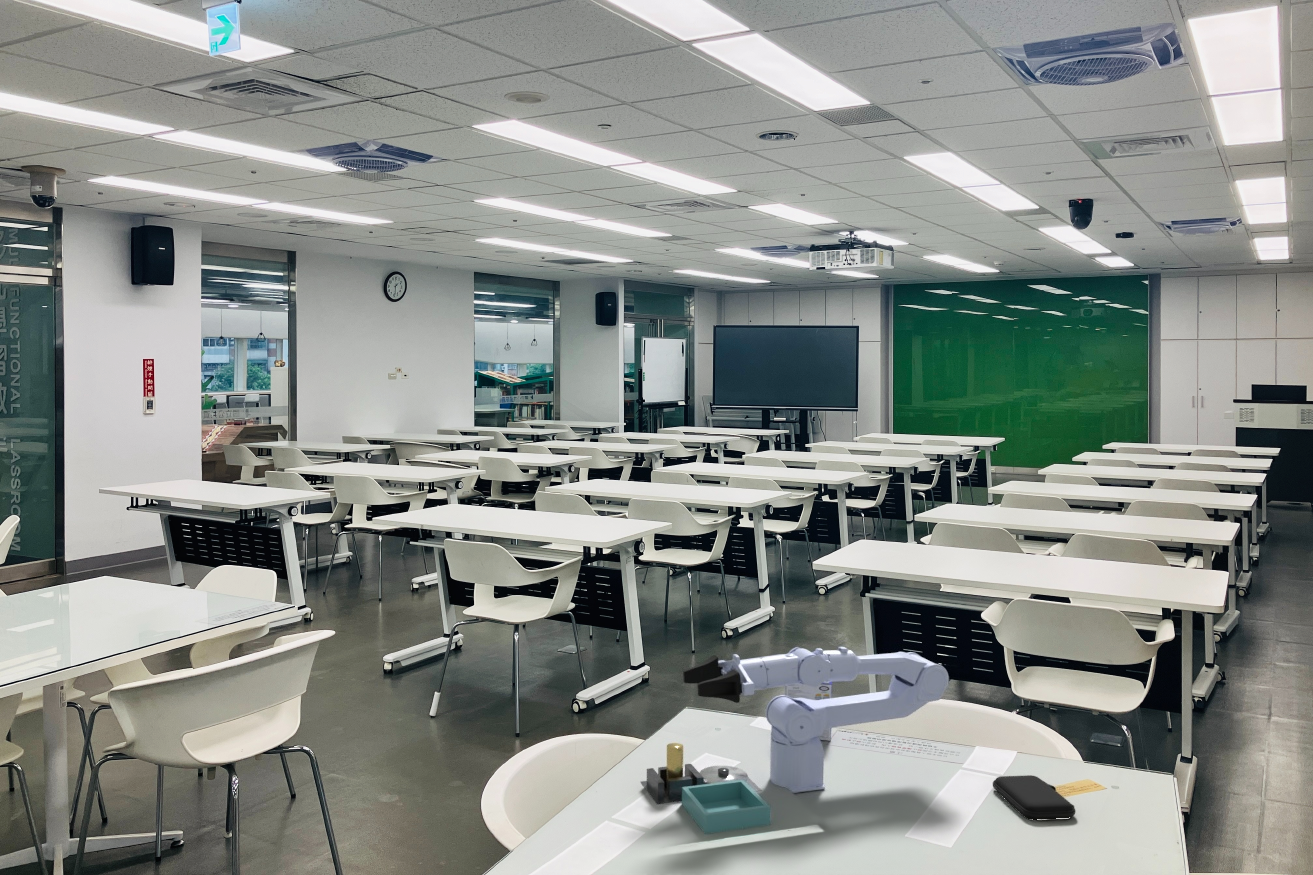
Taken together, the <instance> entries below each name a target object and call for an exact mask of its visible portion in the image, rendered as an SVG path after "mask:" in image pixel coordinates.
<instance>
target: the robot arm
mask: <svg viewBox="0 0 1313 875" xmlns="http://www.w3.org/2000/svg"><path fill="white" fill-rule="evenodd" d="M858 675H889V676H890V675H891V679H890V683H889V686H888V690H884V691H878V692H877V691H876V692H869V693H861V694H855V695H854V694H852V695H847V696H846V695H845V696H839V697H832V698H829V699H822V700H811V699H806V698H791V697H788V696H786V695H785V694H781V695H776V696H774V697H773V698H772V699H771V700H769V702H768V704H767V705H766V708H765V718H766V721H767V722H768V723H769V724H770V725H771V731H770V759H769V760H770V761H769V762H770V764H769V767H770V768H769V770H770V771H769V779H770V782H771V783H772V784H774V785H776V786H779V787H783V788H786V789H788V790H789V791H790V792H791V793H793V794H796V793H803V792H811V791H819V790H825V789H826V786H825V785H824V770H825V769H824V766H825V764H824V761H825V759H824V758H825V757H824V756H825V754H824V753H825V752H824V748H823V743H822V740H820V739H819V738H818V737H817V736H821V735H822V734H823V732H824V729H825V728H831V729H832V728H838V727H839V728H840V727H845V726H847V727H848V726H852V725H860V724H866V723H873V722H874V723H875V722H881V721H889V720H894V719H895V720H896V719H903V718H907V717H909V716H910V715H912V714H914V713H915V712H917V711H918V710H920V709H921V708H922V707H924V706H925V705H927V704H928V703H932V702H936V701H939V700H941V698H942V696H943V694H944V693H945V691H946V690H947V688H948V685H949V681H950V680H949V679H950V676H949V673H948V671H947V669H946V668H945V667H944V666H943V665H941V664H938V663H935V662H933V661H930V660H928V659H926V658H925V657H922V656H921V655H920V654H918V653H916V652H911V651H910V652H905V651H898V652H891V653H888V652H887V653H879V654H878V653H876V654H866V655H857V654H855V653H854V652H853V650H850V649H849V648H847V647H845V646H838V648H837V649H836V650H835V649H833V650H831V649H830V650H825V649H824V650H823V649H822V648H821V647H819V648H818V647H817V648H815V650H814V651H810V650H809V649H806V648H802V647H799V646H796V647H793V648H792V649H790V650H789V651H788V652H787V653H784V654H781V653H779V654H772V655H766V656H758V657H753V658H752V657H751V658H745V659H744V658H743V659H741V657H740V656H739V655H738V654H737V653H736V654H732V659H731V660H730V659H729V660H725V659H723V660H722V659H721V660H719V657H718V656H717V655H715V654H713V655H710V657H708V658H707V659H706V660H704V661H703V662H701V663H699V664H697V665H695V666H692V667H690V668H687V669H685V670H683V677H682V678H683V683H685V684H690V685H691V684H694V685H695V684H697V696H698V697H703V698H714V699H722V700H727V701H730V702H734V703H736V704H739V703H740V701H741V695H743V696H745V697H747V696H752V695H755V691H760V690H761V691H762V690H765V689H773V688H779V687H786V686H787V685H792V684H799V683H800V682H802V683H803V684H805V685H808V686H813V687H816V686H819V685H820V684H821V683H822V682H832V683H833V682H853V681H854V680H855V679H856V678H857V677H858ZM799 681H800V682H799Z"/></svg>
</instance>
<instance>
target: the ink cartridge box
mask: <svg viewBox="0 0 1313 875" xmlns="http://www.w3.org/2000/svg"><path fill="white" fill-rule="evenodd" d="M799 682H800V681H799ZM784 695H786V696H788V697H791V698H806V699H811V700H822V699H829V698H833V681H832V682H822V683H821V684H820V685H819V686H816V687H813V686H808V685H805V684H803V683H802V682H800V683H799V684H792V685H787V686H785V694H784ZM817 737H818V738H819V739H820V741H831V740H832V728H825V729H824V732H823V734H822V735H821V736H817Z"/></svg>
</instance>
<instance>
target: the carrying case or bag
mask: <svg viewBox="0 0 1313 875" xmlns="http://www.w3.org/2000/svg"><path fill="white" fill-rule="evenodd" d="M992 787H993V788H994V790H995V792H996V793H997V794H998V795H1000V796H1001V797H1002V796H1003V797H1004V798H1005V799H1006V800H1007V801H1008V802H1009V803H1010V804H1011V805H1012V806H1011V807H1013V806H1014V807H1015V808H1016V809H1017V810H1018V811H1019V812H1020V813H1021V814H1020V813H1019V812H1018V811H1017V810H1016V809H1015V808H1014V807H1013V808H1014V809H1015V810H1016V811H1017V812H1018V813H1019V814H1020V815H1021V816H1023V817H1024V816H1025V817H1026V818H1025V817H1024V818H1025V819H1027V818H1028V819H1027V820H1029V819H1033V820H1037V819H1056V818H1069V817H1071V818H1072V817H1074V816H1075V814H1076V808H1075V805H1074V804H1073V803H1071V802H1070V801H1069V800H1067V799H1066V798H1065V797H1064V796H1063V795H1061V794H1060V793H1059V791H1057V789H1056V786H1054V785H1051V784H1049V783H1047V782H1046V781H1044V780H1042V779H1041V778H1040V777H1038V776H1036V775H1030V774H1029V775H1007V776H1005V775H1001V776H997V777H996V778H995V779H994V780H993V781H992ZM1003 797H1002V798H1003ZM1004 798H1003V799H1004ZM1005 799H1004V800H1005ZM1006 800H1005V801H1006ZM1007 801H1006V802H1007ZM1008 802H1007V803H1008ZM1009 803H1008V804H1009ZM1010 804H1009V805H1010Z"/></svg>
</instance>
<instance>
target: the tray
mask: <svg viewBox="0 0 1313 875" xmlns="http://www.w3.org/2000/svg"><path fill="white" fill-rule="evenodd" d="M681 805H682V806H683V807H684V809H685V810H686V811H687V814H689V815H690V816H691V818H692V819H693V820H694V822H695V823H696V824H697V826H698V827H699V828H700V829H701V830H702V831H703V832H704V834H705V835H706V834H707V835H708V834H713V833H719V832H720V833H721V832H727V831H735V830H741V829H748V828H756V827H762V826H769V825H771V806H770V805H769V804H768V802H766V800H764V799H763V797H761V796H760V795H759V794H758V792H757V791H756V792H755V791H754V790H753V789H752V788H751V787H750V786H749V785H748V784H747V783H746V782H745V781H744V780H736V781H728V782H720V783H712V784H704V785H696V786H688V787H682V801H681Z"/></svg>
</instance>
